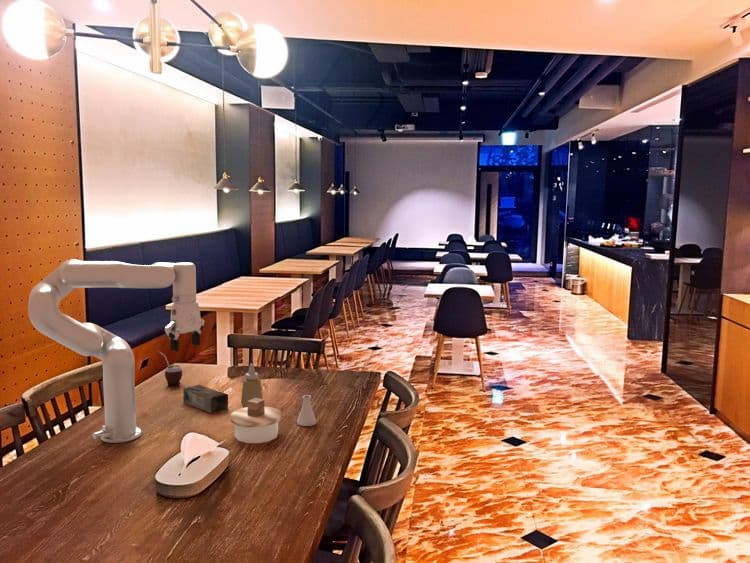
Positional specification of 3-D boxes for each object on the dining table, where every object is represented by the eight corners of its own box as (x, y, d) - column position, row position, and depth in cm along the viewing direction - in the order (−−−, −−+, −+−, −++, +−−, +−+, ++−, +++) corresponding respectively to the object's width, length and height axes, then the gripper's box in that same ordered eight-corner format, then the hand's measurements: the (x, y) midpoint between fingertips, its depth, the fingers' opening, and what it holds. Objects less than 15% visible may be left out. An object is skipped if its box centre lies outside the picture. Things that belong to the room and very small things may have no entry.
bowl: (259, 446, 201) (259, 428, 200) (226, 437, 208) (226, 420, 207) (285, 432, 213) (285, 415, 212) (253, 424, 220) (253, 408, 219)
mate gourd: (186, 384, 265) (185, 350, 263) (171, 389, 258) (170, 354, 256) (174, 381, 269) (173, 347, 267) (159, 386, 262) (158, 351, 260)
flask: (313, 427, 218) (313, 400, 217) (293, 425, 219) (293, 398, 218) (319, 420, 225) (319, 394, 224) (300, 418, 226) (300, 392, 225)
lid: (259, 431, 198) (259, 412, 197) (219, 421, 206) (219, 403, 205) (291, 415, 213) (291, 397, 212) (252, 406, 221) (252, 389, 220)
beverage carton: (200, 398, 248) (200, 382, 247) (229, 409, 236) (229, 392, 235) (182, 403, 242) (182, 386, 241) (211, 414, 230) (211, 397, 229)
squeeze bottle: (265, 407, 238) (265, 361, 235) (259, 414, 230) (259, 367, 227) (245, 406, 238) (244, 361, 236) (238, 413, 230) (237, 366, 228)
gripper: (173, 303, 202) (174, 354, 204) (211, 296, 217) (211, 344, 219) (156, 301, 205) (158, 351, 208) (195, 294, 221) (196, 341, 223)
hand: (185, 347), depth 213 cm, fingers open, 9 cm apart
